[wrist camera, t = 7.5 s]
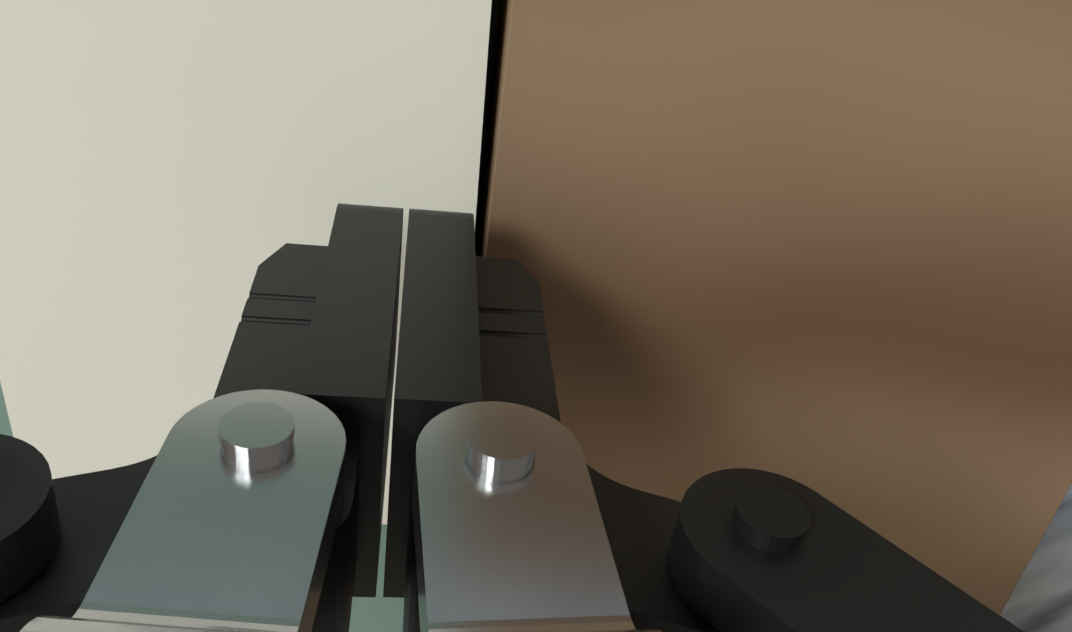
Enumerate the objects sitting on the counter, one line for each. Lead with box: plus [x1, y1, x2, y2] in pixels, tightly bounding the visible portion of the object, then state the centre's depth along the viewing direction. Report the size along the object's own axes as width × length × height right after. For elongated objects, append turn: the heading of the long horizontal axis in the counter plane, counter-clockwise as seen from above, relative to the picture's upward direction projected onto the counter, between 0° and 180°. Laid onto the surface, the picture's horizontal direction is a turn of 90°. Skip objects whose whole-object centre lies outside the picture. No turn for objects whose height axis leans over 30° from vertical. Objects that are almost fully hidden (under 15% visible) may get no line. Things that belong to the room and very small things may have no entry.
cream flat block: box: [0, 0, 492, 524], centre depth 12 cm, size 10×6×2 cm, turn 174°
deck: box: [475, 0, 1072, 615], centre depth 13 cm, size 16×9×2 cm, turn 173°
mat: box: [0, 0, 500, 632], centre depth 13 cm, size 20×10×1 cm, turn 173°
